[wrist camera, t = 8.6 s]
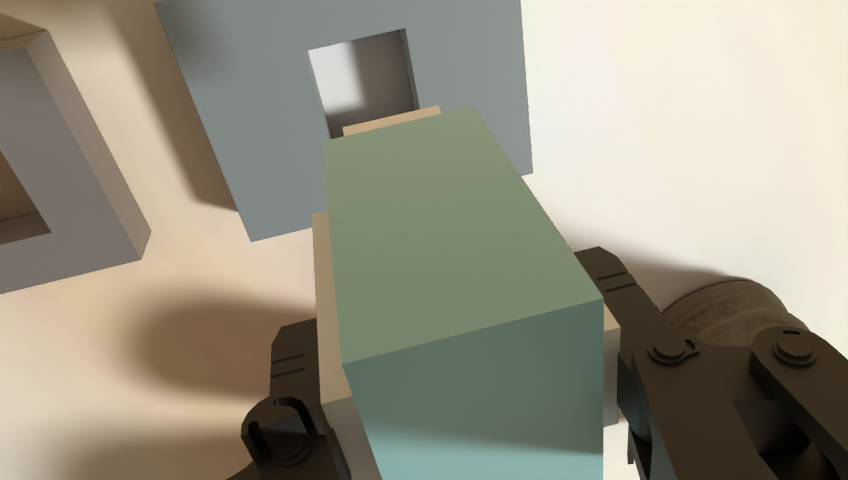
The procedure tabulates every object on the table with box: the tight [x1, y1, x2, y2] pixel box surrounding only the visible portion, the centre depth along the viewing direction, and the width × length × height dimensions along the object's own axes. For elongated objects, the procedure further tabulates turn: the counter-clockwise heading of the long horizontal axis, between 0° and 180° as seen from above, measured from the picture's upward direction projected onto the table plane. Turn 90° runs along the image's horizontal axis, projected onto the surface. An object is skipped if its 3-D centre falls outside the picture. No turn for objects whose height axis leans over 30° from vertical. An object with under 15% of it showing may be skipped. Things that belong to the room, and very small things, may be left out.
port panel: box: [154, 0, 533, 242], centre depth 27 cm, size 14×11×2 cm
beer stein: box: [663, 281, 811, 346], centre depth 36 cm, size 15×11×20 cm
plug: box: [322, 105, 604, 480], centre depth 15 cm, size 4×6×11 cm, turn 9°
